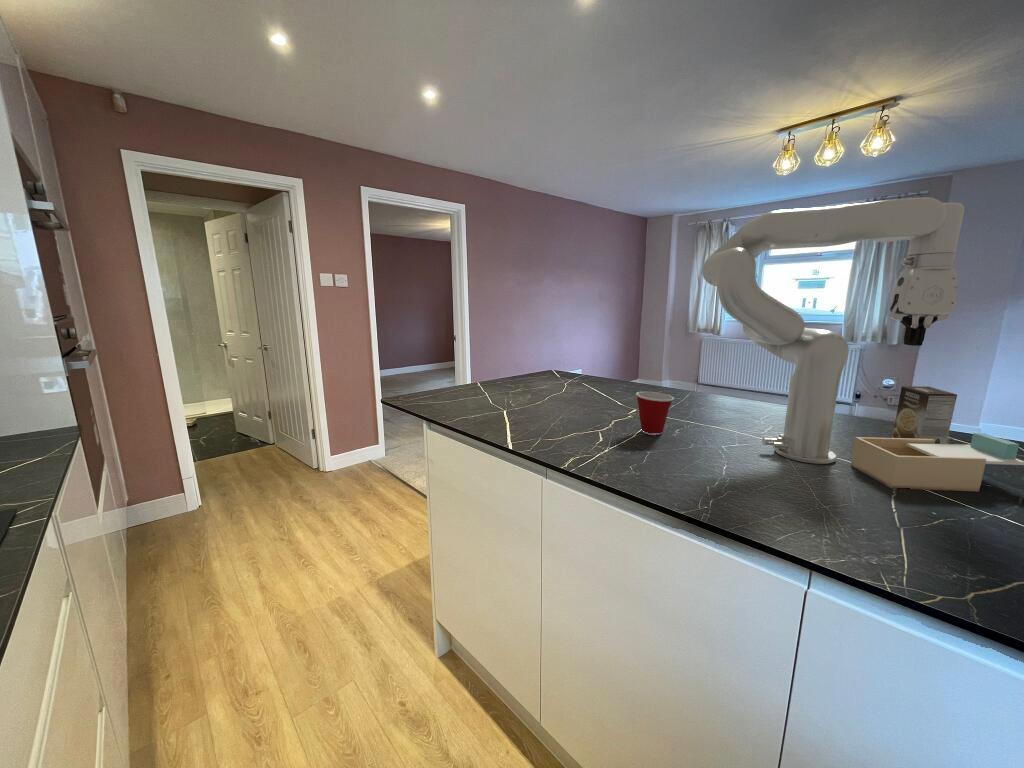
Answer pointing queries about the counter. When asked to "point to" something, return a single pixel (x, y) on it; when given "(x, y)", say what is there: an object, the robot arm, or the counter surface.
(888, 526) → the counter surface
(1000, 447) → the lid
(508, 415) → the counter surface
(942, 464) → the box
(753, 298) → the robot arm
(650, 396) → the plastic cup
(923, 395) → the coffee box
